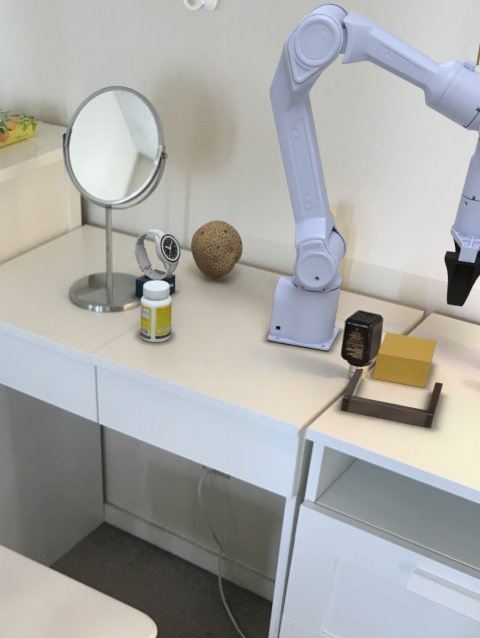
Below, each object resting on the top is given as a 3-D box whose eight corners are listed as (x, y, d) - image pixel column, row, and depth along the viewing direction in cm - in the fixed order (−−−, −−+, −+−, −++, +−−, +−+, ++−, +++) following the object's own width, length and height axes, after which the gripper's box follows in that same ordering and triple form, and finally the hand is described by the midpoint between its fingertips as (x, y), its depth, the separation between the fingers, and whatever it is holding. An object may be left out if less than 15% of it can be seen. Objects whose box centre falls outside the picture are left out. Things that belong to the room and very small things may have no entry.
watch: (164, 305, 137) (166, 241, 130) (127, 293, 141) (127, 230, 134) (184, 295, 140) (187, 231, 133) (147, 283, 144) (148, 221, 138)
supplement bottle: (173, 331, 129) (175, 280, 124) (167, 344, 126) (169, 292, 121) (144, 328, 130) (144, 277, 125) (137, 341, 127) (137, 290, 122)
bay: (340, 410, 109) (342, 397, 108) (354, 379, 116) (356, 367, 115) (430, 428, 105) (434, 415, 104) (439, 396, 112) (443, 383, 111)
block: (372, 378, 116) (377, 352, 114) (381, 357, 121) (386, 332, 119) (423, 387, 114) (430, 362, 111) (430, 365, 119) (437, 340, 116)
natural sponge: (208, 263, 151) (212, 209, 145) (249, 275, 146) (255, 219, 140) (179, 279, 146) (182, 223, 140) (221, 291, 141) (226, 234, 135)
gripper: (514, 216, 100) (483, 319, 109) (521, 183, 110) (492, 279, 119) (453, 209, 103) (428, 310, 111) (466, 177, 113) (442, 272, 121)
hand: (458, 294), depth 115 cm, fingers open, 7 cm apart
